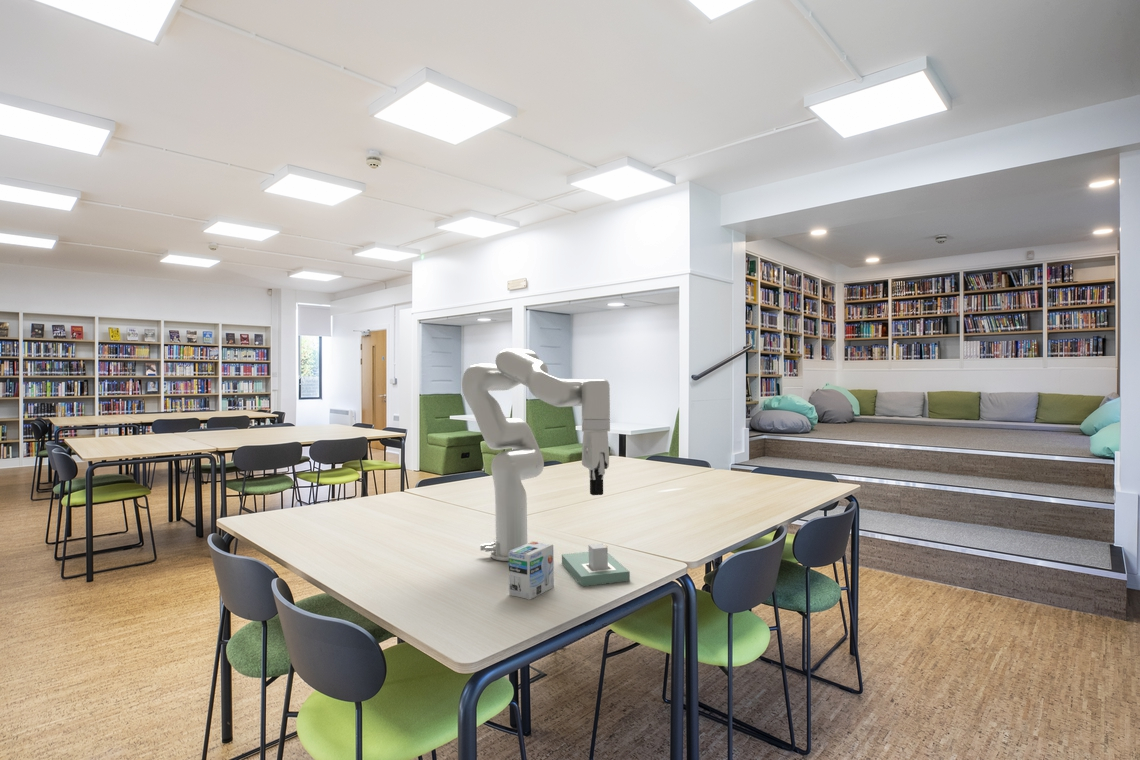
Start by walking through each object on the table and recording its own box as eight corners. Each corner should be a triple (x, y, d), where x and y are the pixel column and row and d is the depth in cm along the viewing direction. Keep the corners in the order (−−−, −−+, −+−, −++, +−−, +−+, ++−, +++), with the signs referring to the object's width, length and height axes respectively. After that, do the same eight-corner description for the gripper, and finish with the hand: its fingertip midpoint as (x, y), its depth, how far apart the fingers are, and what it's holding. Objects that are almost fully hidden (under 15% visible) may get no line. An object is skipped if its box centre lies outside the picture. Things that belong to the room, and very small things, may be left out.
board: (581, 586, 141) (581, 576, 141) (561, 563, 160) (561, 554, 161) (629, 581, 145) (629, 571, 145) (604, 558, 164) (604, 550, 164)
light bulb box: (530, 600, 133) (529, 554, 133) (507, 595, 136) (507, 550, 136) (555, 586, 142) (554, 543, 142) (533, 582, 145) (532, 540, 145)
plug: (593, 579, 146) (593, 548, 146) (589, 574, 150) (588, 544, 150) (609, 577, 147) (608, 547, 148) (604, 573, 151) (604, 543, 151)
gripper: (574, 424, 156) (575, 490, 155) (590, 428, 141) (591, 500, 141) (600, 423, 158) (601, 488, 157) (618, 427, 143) (619, 499, 143)
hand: (596, 494), depth 149 cm, fingers closed
